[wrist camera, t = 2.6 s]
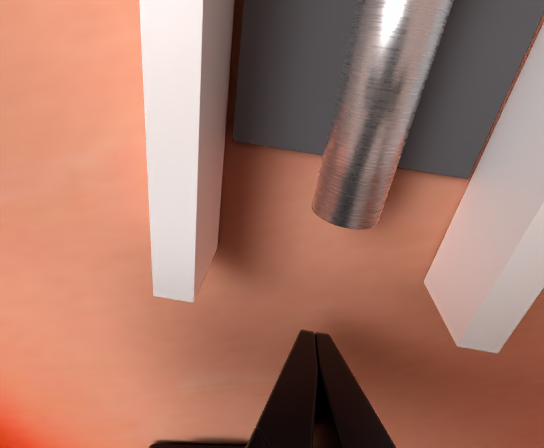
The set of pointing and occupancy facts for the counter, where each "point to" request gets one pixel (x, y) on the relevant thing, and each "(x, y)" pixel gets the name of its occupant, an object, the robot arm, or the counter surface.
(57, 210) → the counter surface
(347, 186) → the rod
